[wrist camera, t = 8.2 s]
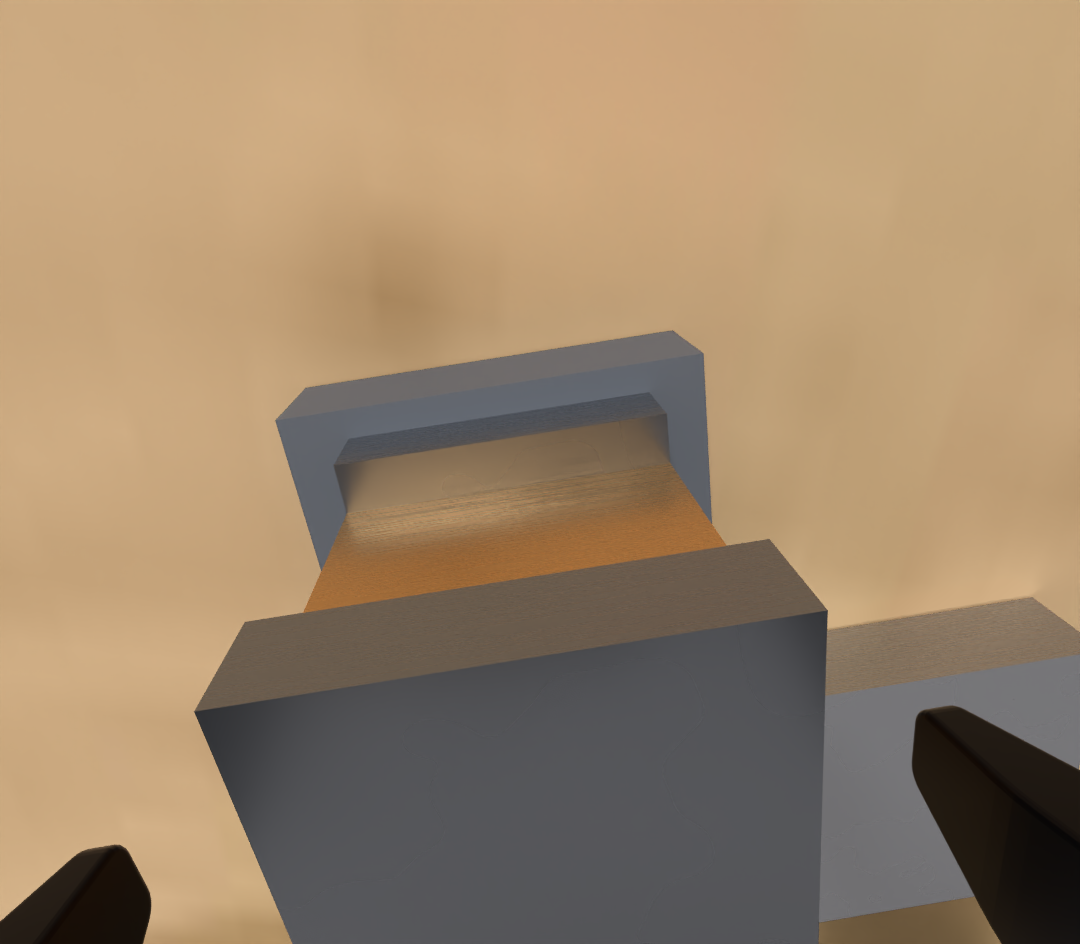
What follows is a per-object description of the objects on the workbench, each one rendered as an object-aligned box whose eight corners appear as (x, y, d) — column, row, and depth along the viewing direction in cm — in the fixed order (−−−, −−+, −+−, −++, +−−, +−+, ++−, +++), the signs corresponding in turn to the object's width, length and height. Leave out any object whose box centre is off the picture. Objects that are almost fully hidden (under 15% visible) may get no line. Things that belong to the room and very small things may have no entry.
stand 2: (1032, 597, 16) (1104, 650, 14) (997, 814, 19) (1054, 882, 17) (736, 645, 16) (769, 704, 14) (744, 856, 19) (772, 930, 17)
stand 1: (672, 330, 13) (703, 353, 11) (692, 634, 16) (720, 693, 14) (306, 388, 13) (275, 420, 11) (388, 683, 16) (376, 750, 14)
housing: (672, 681, 14) (815, 1058, 8) (423, 722, 14) (372, 1133, 8) (649, 392, 11) (827, 610, 5) (348, 438, 11) (194, 710, 5)
